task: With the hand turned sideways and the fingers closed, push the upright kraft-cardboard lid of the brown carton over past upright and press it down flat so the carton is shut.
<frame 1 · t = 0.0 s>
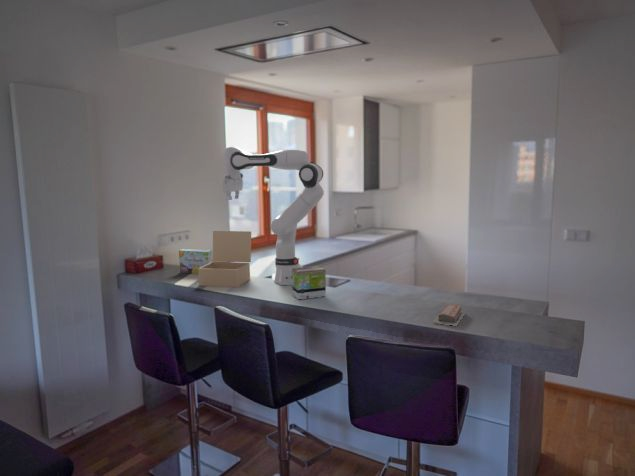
hand: (233, 199, 273), 48 cm above the table, tool pointing down, fingers open, 8 cm apart
packaged product: (449, 320, 202), on the table
carton: (225, 282, 274), on the table
tea box: (309, 296, 241), on the table
snack box: (196, 273, 300), on the table
carton lid: (231, 246, 282), point 19 cm above the table, hinge at 100.0°
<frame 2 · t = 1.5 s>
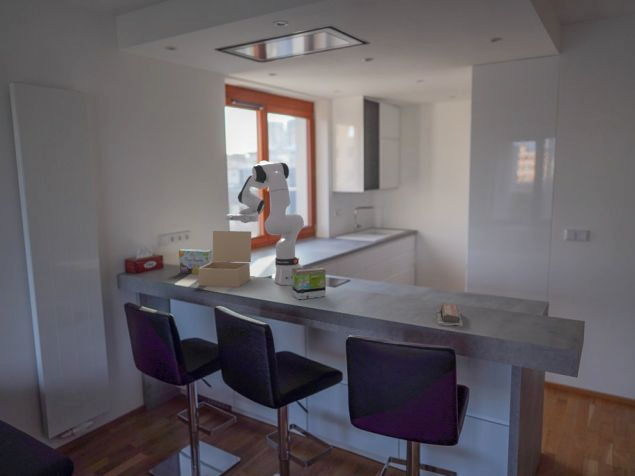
hand: (237, 218, 290), 35 cm above the table, tool horizontal, fingers open, 8 cm apart
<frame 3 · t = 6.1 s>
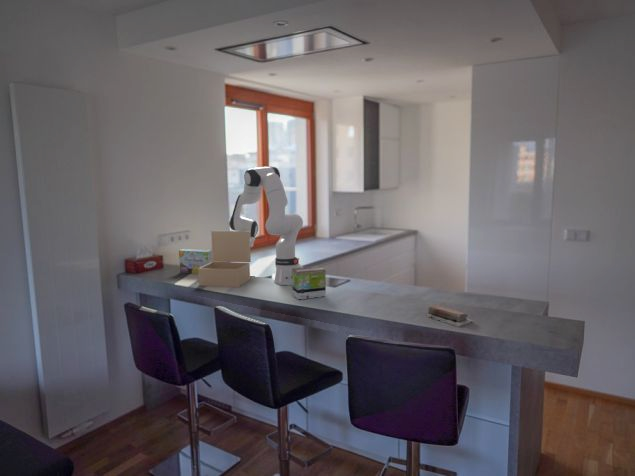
hand: (231, 245, 281), 20 cm above the table, tool horizontal, fingers closed, pressing on carton lid
carton lid: (230, 246, 281), point 19 cm above the table, hinge at 92.7°, touching gripper
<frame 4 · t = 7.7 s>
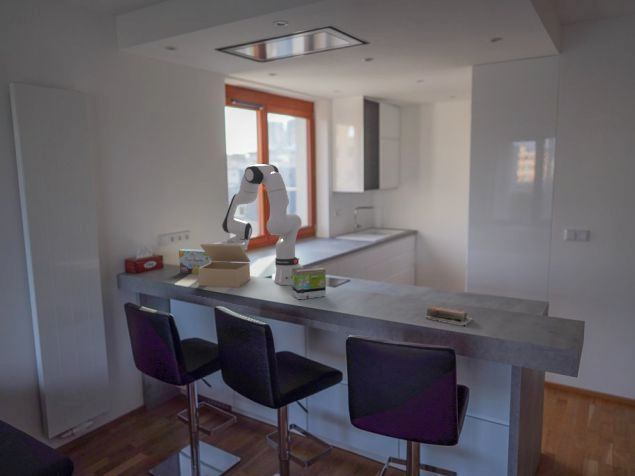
hand: (224, 248, 272), 20 cm above the table, tool horizontal, fingers closed, pressing on carton lid
carton lid: (225, 253, 274), point 17 cm above the table, hinge at 41.4°, touching gripper
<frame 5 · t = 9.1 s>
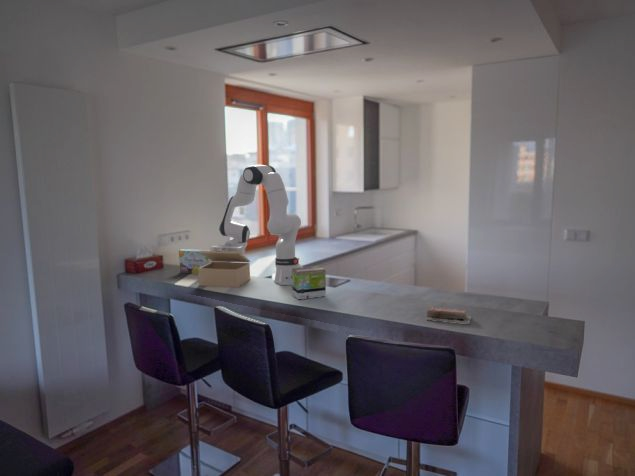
hand: (221, 251, 269), 19 cm above the table, tool horizontal, fingers closed, pressing on carton lid
carton lid: (225, 256, 273), point 15 cm above the table, hinge at 27.7°, touching gripper
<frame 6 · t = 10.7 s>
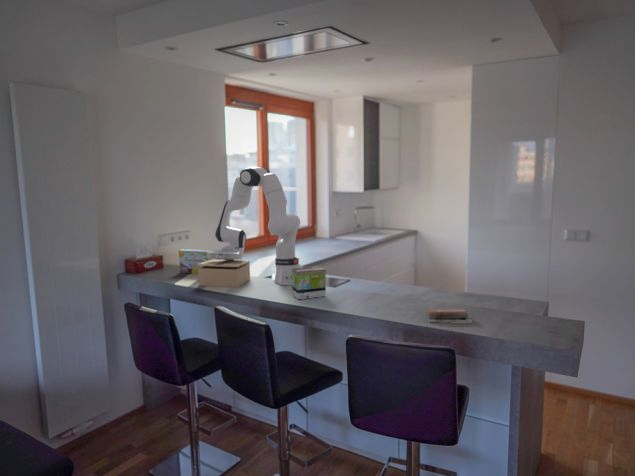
hand: (218, 257, 265), 16 cm above the table, tool horizontal, fingers closed
carton lid: (224, 263, 272), point 11 cm above the table, hinge at 3.8°, touching arm
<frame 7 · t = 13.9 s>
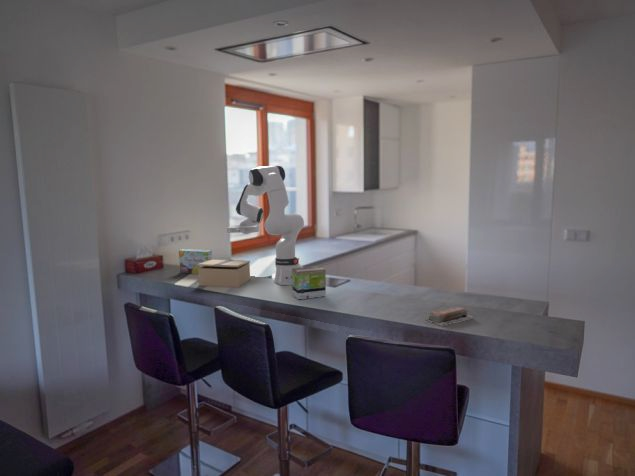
hand: (238, 231, 291), 27 cm above the table, tool horizontal, fingers closed
carton lid: (224, 263, 272), point 11 cm above the table, hinge at 3.7°
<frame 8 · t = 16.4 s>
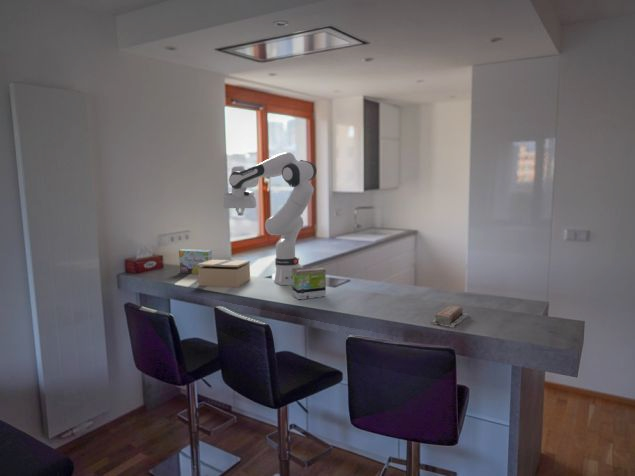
hand: (240, 215, 286), 37 cm above the table, tool pointing down, fingers closed
at the end: carton lid at +4° (first picture: +100°); snack box moved 0.3 cm from its start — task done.
